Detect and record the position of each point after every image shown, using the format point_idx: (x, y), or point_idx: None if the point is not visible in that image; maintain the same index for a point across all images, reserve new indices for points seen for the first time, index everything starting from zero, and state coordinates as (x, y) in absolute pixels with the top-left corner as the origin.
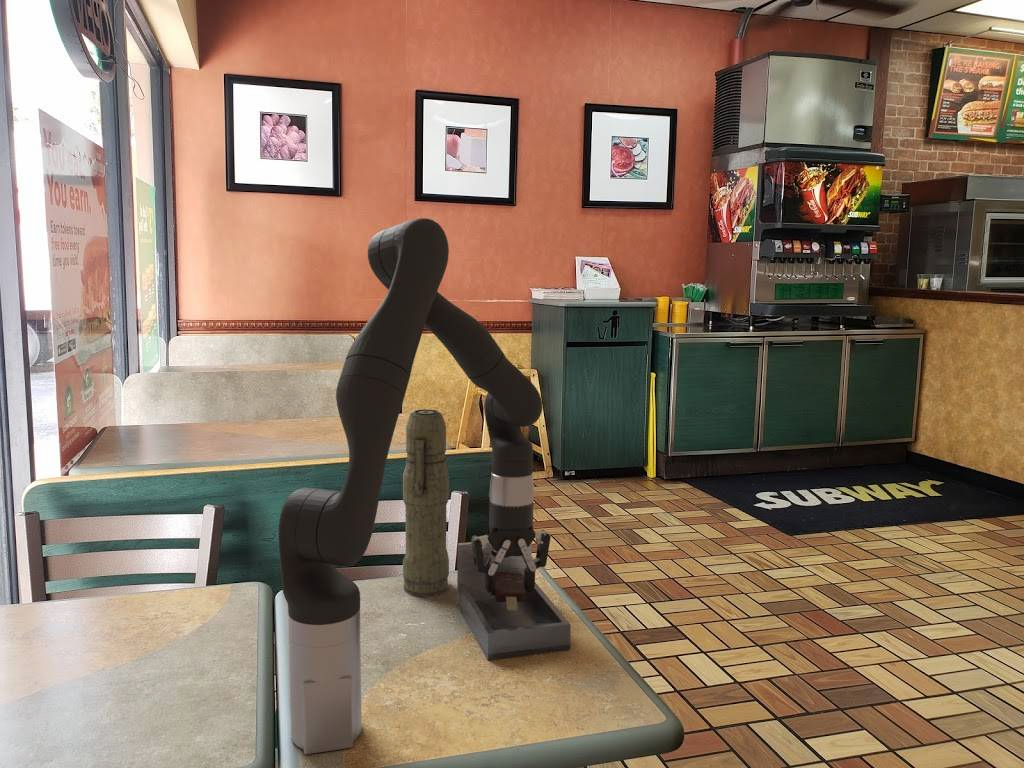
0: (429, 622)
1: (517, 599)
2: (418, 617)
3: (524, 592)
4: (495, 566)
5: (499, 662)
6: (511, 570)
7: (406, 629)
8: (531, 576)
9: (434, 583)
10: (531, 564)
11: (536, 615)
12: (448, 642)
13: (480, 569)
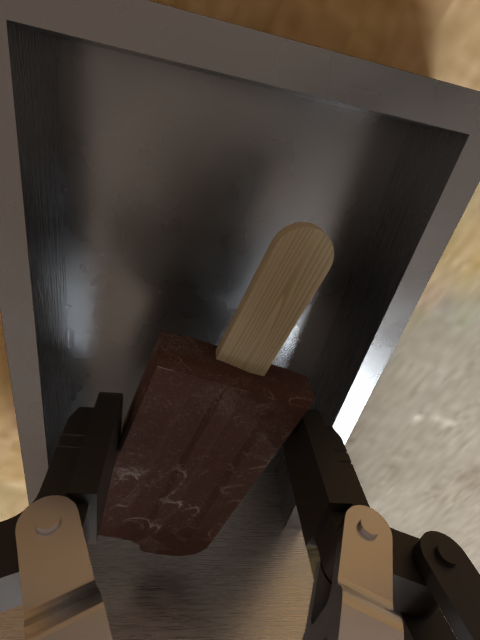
0: (400, 415)
1: (207, 347)
2: (405, 444)
3: (163, 367)
4: (354, 569)
5: (403, 53)
6: (107, 561)
7: (475, 401)
8: (79, 464)
9: (310, 551)
10: (53, 556)
11: (87, 337)
12: (442, 295)
13: (456, 555)
